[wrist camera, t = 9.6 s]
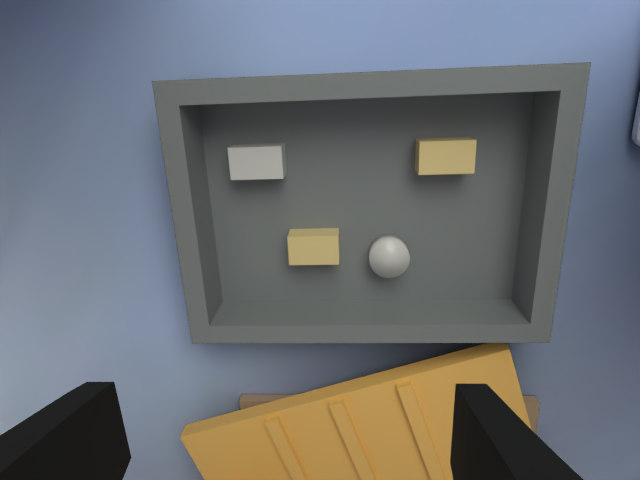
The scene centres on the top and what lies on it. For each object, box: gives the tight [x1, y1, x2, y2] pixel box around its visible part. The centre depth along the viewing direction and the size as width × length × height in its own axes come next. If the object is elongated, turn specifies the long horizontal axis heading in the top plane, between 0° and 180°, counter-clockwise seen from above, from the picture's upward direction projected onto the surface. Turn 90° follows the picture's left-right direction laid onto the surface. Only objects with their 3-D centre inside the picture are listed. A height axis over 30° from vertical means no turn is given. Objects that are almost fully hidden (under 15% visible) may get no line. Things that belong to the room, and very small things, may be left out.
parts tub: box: [152, 62, 591, 343], centre depth 17 cm, size 14×10×3 cm
